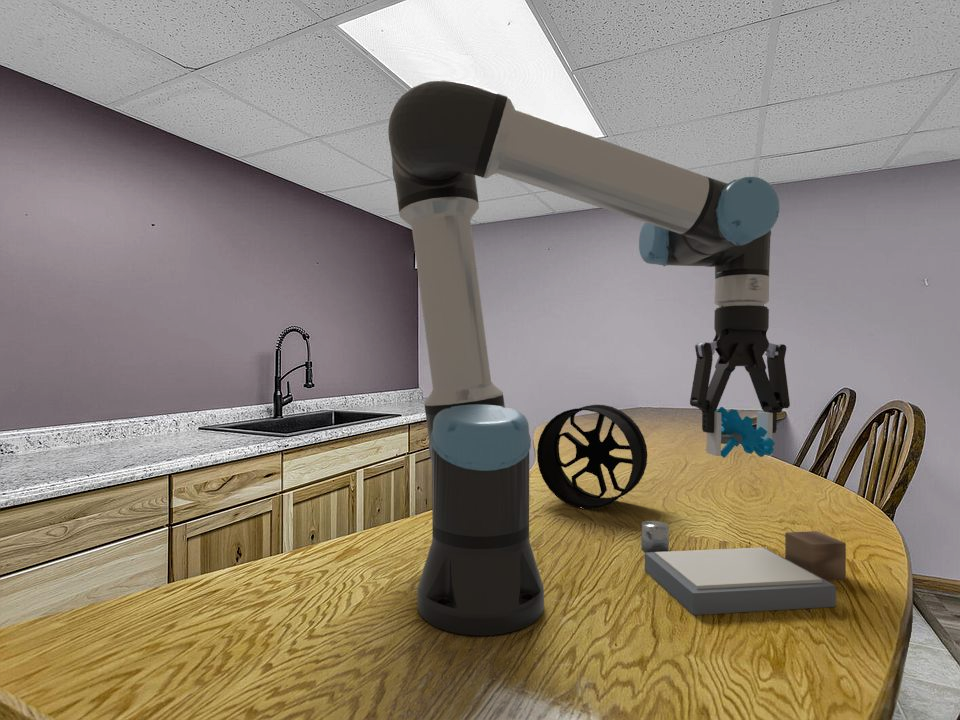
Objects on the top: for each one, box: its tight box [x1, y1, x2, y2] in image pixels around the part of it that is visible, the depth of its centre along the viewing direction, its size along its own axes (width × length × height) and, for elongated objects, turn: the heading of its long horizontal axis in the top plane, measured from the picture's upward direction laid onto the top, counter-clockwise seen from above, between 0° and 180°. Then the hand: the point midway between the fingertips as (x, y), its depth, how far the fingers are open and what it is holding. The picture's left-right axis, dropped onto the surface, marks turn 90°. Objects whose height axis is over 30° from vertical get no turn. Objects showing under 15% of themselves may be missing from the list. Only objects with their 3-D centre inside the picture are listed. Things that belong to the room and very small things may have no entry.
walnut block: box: [784, 530, 847, 582], centre depth 73 cm, size 5×5×5 cm
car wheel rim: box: [536, 404, 648, 511], centre depth 108 cm, size 20×10×20 cm, turn 58°
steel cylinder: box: [640, 520, 670, 554], centre depth 82 cm, size 4×4×4 cm
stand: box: [644, 547, 837, 616], centre depth 68 cm, size 18×13×3 cm
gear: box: [715, 406, 776, 458], centre depth 81 cm, size 11×6×10 cm
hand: (738, 454), depth 81 cm, fingers closed on gear, 8 cm apart
